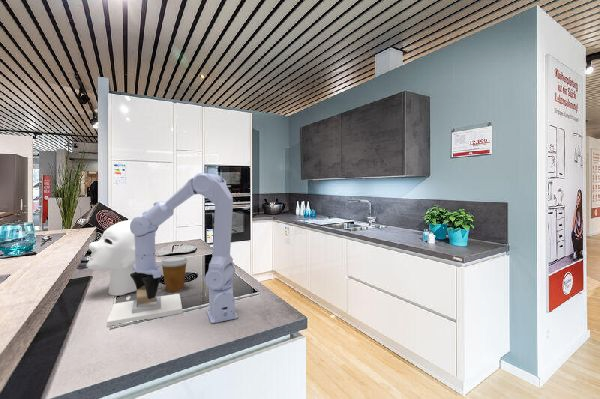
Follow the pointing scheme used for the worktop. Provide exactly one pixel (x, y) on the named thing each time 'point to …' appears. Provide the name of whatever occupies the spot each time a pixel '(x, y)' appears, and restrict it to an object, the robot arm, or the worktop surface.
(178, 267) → the disposable coffee cup
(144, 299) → the oak cube
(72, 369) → the worktop surface
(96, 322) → the worktop surface
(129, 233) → the mannequin head
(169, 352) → the worktop surface
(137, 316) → the display stand
